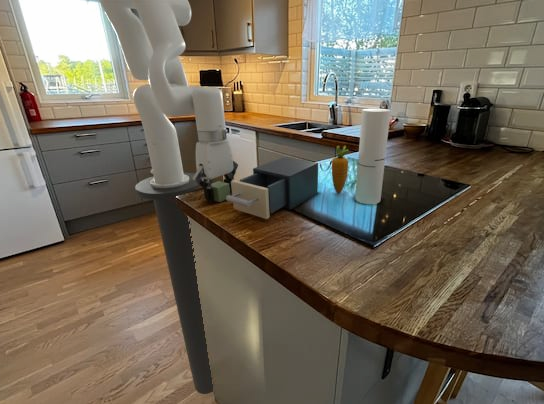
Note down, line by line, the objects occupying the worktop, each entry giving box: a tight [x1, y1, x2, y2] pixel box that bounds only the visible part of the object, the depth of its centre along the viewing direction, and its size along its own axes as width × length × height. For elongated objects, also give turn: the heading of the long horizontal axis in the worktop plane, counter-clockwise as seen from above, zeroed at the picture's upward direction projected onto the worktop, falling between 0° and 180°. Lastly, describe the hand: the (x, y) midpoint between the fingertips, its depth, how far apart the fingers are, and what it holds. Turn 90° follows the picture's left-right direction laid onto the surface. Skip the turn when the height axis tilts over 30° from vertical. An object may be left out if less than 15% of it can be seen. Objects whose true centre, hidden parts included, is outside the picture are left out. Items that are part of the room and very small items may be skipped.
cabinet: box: [252, 156, 319, 211], centre depth 87 cm, size 15×13×10 cm
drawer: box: [226, 172, 288, 220], centre depth 78 cm, size 18×11×8 cm, turn 146°
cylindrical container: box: [354, 107, 392, 205], centre depth 81 cm, size 7×7×25 cm
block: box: [211, 180, 231, 203], centre depth 87 cm, size 4×4×4 cm
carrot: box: [331, 145, 350, 195], centre depth 87 cm, size 5×5×15 cm
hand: (219, 195), depth 88 cm, fingers open, 6 cm apart
